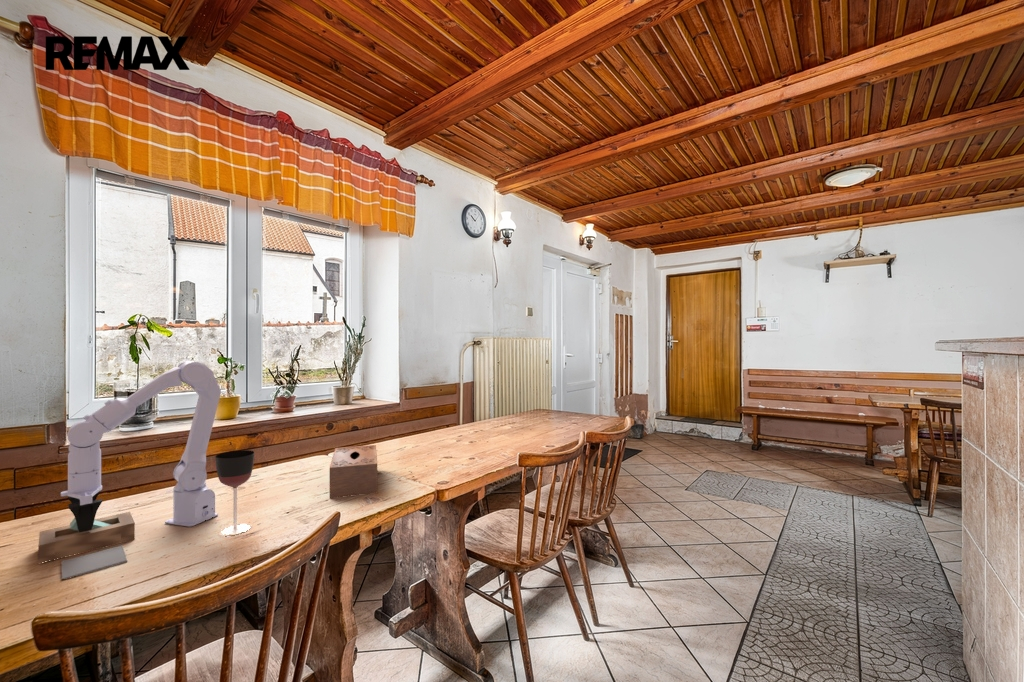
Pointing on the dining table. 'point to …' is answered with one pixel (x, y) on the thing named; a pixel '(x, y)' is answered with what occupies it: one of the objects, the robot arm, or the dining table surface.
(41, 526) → the dining table surface
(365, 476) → the tissue box cover
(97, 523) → the teal block
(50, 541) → the walnut frame
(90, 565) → the grey mat
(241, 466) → the wineglass
